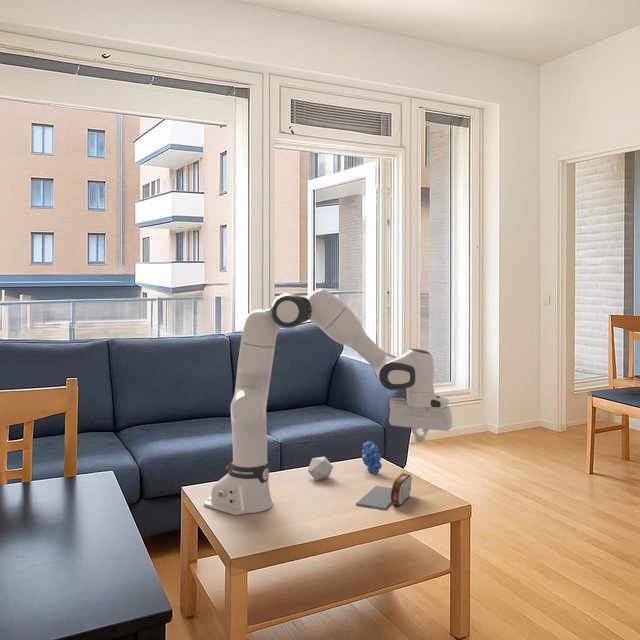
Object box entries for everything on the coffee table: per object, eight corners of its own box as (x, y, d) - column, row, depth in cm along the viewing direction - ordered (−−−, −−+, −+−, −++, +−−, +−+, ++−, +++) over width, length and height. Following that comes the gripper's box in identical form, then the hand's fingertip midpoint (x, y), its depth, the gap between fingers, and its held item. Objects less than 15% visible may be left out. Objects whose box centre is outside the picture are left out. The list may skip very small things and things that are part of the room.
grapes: (353, 470, 239) (353, 439, 238) (368, 467, 242) (368, 437, 241) (370, 478, 229) (370, 446, 228) (385, 475, 232) (385, 444, 231)
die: (327, 475, 234) (311, 455, 234) (341, 469, 229) (325, 448, 229) (315, 488, 228) (299, 468, 228) (329, 482, 223) (313, 461, 223)
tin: (404, 493, 213) (404, 469, 212) (413, 494, 211) (413, 470, 211) (389, 508, 199) (389, 482, 199) (399, 509, 198) (399, 483, 197)
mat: (356, 505, 202) (356, 503, 202) (376, 487, 219) (376, 485, 219) (385, 509, 198) (385, 508, 197) (403, 491, 215) (403, 489, 215)
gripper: (386, 398, 202) (386, 440, 203) (448, 403, 193) (448, 447, 194) (392, 395, 208) (392, 436, 208) (453, 399, 199) (453, 442, 200)
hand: (420, 441), depth 201 cm, fingers closed
